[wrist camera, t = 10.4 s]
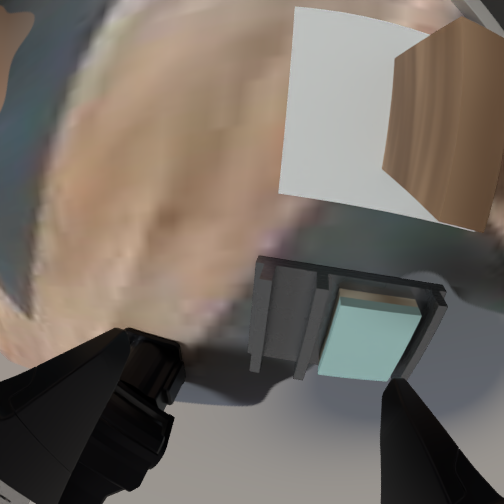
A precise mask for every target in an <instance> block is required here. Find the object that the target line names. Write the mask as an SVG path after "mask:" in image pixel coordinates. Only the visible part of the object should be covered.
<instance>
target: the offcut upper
mask: <svg viewBox="0 0 504 504" xmlns="http://www.w3.org/2000/svg"><path fill="white" fill-rule="evenodd" d="M421 317H422V315H421V313H420V310H419V308H418V307H412V306H404V305H397V304H389V303H382V302H375V301H368V300H361V299H354V298H347V297H340V298H339V302H338V305H337V308H336V312H335V315H334V318H333V322H332V325H331V328H330V331H329V335H328V338H327V341H326V344H325V347H324V350H323V353H322V356H321V359H320V362H319V365H318V375H326V376H334V377H343V378H353V379H364V380H376V381H388V379H389V377H390V376H391V374H392V372H393V370H394V369H395V367H396V365H397V363H398V362H399V360H400V358H401V356H402V354H403V353H404V351H405V349H406V347H407V345H408V343H409V341H410V339H411V337H412V335H413V333H414V331H415V329H416V327H417V325H418V323H419V321H420V319H421Z"/></svg>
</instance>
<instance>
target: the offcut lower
mask: <svg viewBox="0 0 504 504" xmlns="http://www.w3.org/2000/svg"><path fill="white" fill-rule="evenodd" d="M340 297H347V298H354V299H361V300H368V301H375V302H382V303H389V304H397V305H404V306H412V307H418V305H417V303H416V300H415V299H409V298H402V297H395V296H388V295H381V294H374V293H367V292H360V291H354V290H347V289H341V288H339V291H338V295H337V298H336V302H335V305H334V309H333V312H332V316H331V319H330V322H329V326H328V329H327V332H326V336H325V339H324V342H323V345H322V348H321V351H320V354H319V360H318V365H319V362H320V359H321V356H322V353H323V350H324V347H325V344H326V341H327V338H328V335H329V331H330V328H331V325H332V322H333V318H334V315H335V312H336V308H337V305H338V302H339V298H340Z"/></svg>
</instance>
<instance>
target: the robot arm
mask: <svg viewBox="0 0 504 504" xmlns="http://www.w3.org/2000/svg"><path fill="white" fill-rule="evenodd" d="M185 377H186V376H185V369H184V363H183V361H182V358H181V350H180V345H179V344H177V343H176V342H172V341H169V340H165V339H161V338H158V337H154V336H151V335H148V334H144V333H141V332H138V331H135V330H131V329H128V328H125V329H124V330H123V329H120V328H113V329H111V330H109V331H107V332H105V333H103V334H101V335H99V336H97V337H95V338H93V339H91V340H89V341H87V342H85V343H83V344H81V345H79V346H77V347H75V348H73V349H71V350H69V351H67V352H65V353H62V354H60V355H58V356H56V357H54V358H52V359H50V360H48V361H46V362H44V363H42V364H40V365H38V366H37V367H34V368H32V369H30V370H28V371H26V372H23V373H21V374H19V375H16V376H14V377H11V378H9V379H6V380H4V381H1V382H0V504H28V503H29V502H30V500H31V501H32V502H34V503H36V504H103V502H104V501H105V499H106V498H107V497H108V496H110V495H113V494H115V493H118V492H120V491H122V490H127V491H129V492H130V491H132V490H134V489H136V488H138V487H139V486H140V485H141V483H142V481H143V478H144V476H145V474H146V472H147V470H148V469H152V468H153V467H155V466H156V465H157V464H158V462H159V461H160V459H161V458H162V456H163V455H164V452H165V450H166V448H167V444H168V440H169V437H170V433H171V429H172V425H173V422H174V417H173V416H172V415H170V414H167V413H166V412H164V409H165V407H166V405H167V404H168V405H171V404H173V402H174V400H175V398H176V396H177V394H178V392H179V390H180V388H181V386H182V384H183V383H184V381H185ZM458 448H459V447H458V446H457V445H456V443H455V442H454V441H453V439H452V438H451V437H450V435H449V434H448V433H447V431H446V430H445V429H444V428H443V426H442V425H441V424H440V422H439V421H438V420H437V419H436V417H435V416H434V415H433V414H432V412H431V411H430V410H429V408H428V407H427V406H426V405H425V403H424V402H423V401H422V400H421V398H420V397H419V396H418V395H417V393H416V392H415V391H414V389H413V388H412V387H411V386H410V385H409V383H408V382H407V381H406V380H405V379H404V378H392V379H391V381H390V382H389V384H388V386H387V387H386V389H385V391H384V392H383V396H382V409H381V429H380V449H381V450H380V451H381V504H504V498H503V497H502V496H500V495H499V494H498V493H497V492H496V491H495V490H494V489H493V488H492V487H491V486H490V484H489V483H488V482H487V481H486V480H485V479H484V478H483V477H482V476H481V475H480V473H479V472H478V471H477V470H476V469H475V468H474V466H473V465H472V464H471V463H470V461H469V460H468V459H467V458H466V456H465V455H464V454H463V452H462V451H461V450H460V449H458Z"/></svg>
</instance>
